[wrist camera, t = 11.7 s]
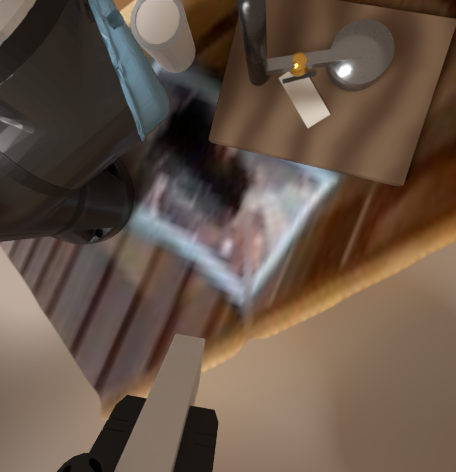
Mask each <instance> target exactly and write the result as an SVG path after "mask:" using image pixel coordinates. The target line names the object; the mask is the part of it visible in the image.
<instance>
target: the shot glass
mask: <svg viewBox="0 0 456 472" xmlns="http://www.w3.org/2000/svg"><path fill="white" fill-rule="evenodd" d="M130 25H131V29H132V33H133V36H134V37H135V39H136V40H137V42H138V43H139V44H140V45H141V46H142V47H143V48H144V49H145V50H146V51H147V52H148V53H149V54H150V55H151V56H152V57H153V58H154V59H155V60H156V61H157V62H158V63H159V64H160V65H161V66H162V67H163V68H164V69H165V70H167V71H169V72H170V73H180V72H183V71H185V70H186V69H188V68H189V67H190V66H191V64H192V62H193V61H194V59H195V52H196V49H195V45H194V41H193V38H192V34H191V31H190V28H189V24H188V21H187V18H186V14H185V11H184V7H183V4H182V3H181V1H180V0H138V1H137V2H136V5H135V7H134V9H133V11H132V14H131V24H130Z"/></svg>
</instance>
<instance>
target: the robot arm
mask: <svg viewBox="0 0 456 472" xmlns="http://www.w3.org/2000/svg"><path fill="white" fill-rule="evenodd" d="M169 107H170V103H169V98H168V96H167V94H166V92H165V90H164V88H163V86H162V84H161V83H160V81H159V79H158V77H157V76H156V74H155V72H154V70H153V69H152V67H151V65H150V63H149V62H148V60H147V58H146V56H145V55H144V53H143V51H142V50H141V48H140V46H139V44H138V43H137V41H136V39H135V38H134V36H133V34H132V32H131V31H130V29H129V27H128V26H127V24H126V23H125V21H124V19H123V17H122V15H121V14H120V12H119V10H118V9H117V7H116V5H115V4H114V1H113V0H0V242H2V241H11V240H20V239H30V238H39V237H47V236H50V237H53V238H56V239H59V240H63V241H66V242H69V243H73V244H92V243H98V242H102V241H105V240H107V239H109V238H111V237H113V236H114V235H115V234H117V233H118V232H119V231H120V230H121V229H122V228H123V226H124V225H125V223H126V222H127V220H128V218H129V216H130V213H131V210H132V206H133V186H132V181H131V178H130V175H129V173H128V171H127V169H126V167H125V166H124V164H123V163H122V162H121V161H120V160H119V157H120V156H121V155H123V154H124V153H125V152H126V151H128V150H129V149H130V148H131V147H133V146H134V145H135V144H136V143H138V142H139V141H141V142H143V141H144V140H145V139H146V136H147V135H148V134H149V133H150V132H151V131H152V130H153V129H155V128H156V127H157V126H158V125H159V124H160V123H161V122H162V121H164V119H165V118H166V117H167V115H168V113H169ZM204 345H205V339H203V338H197V337H191V336H185V335H180V334H175V337H174V339H173V341H172V343H171V345H170V348H169V350H168V352H167V354H166V357H165V359H164V361H163V363H162V366H161V368H160V370H159V372H158V375H157V377H156V379H155V381H154V384H153V386H152V388H151V390H150V393H149V395H148V397H147V398H141V397H136V396H130V395H127V396H125V397H124V398H123V399H122V400H121V401H120V402H119V403H117V404H116V406H115V408H114V409H113V411H112V413H111V415H110V416H109V419H108V420H107V422H106V424H105V425H104V427H103V430H102V431H101V432H100V434H99V436H98V438H97V440H96V441H95V443H94V445H93V447H92V449H91V450H90V452H89V453H83V454H80V455H77V456H74V457H73V458H71V459H70V460H68V461H67V462H65V463H64V464H63V465H62V467H61V468H60V469H59V470H58V471H57V472H212V470H213V462H214V454H215V445H216V437H217V430H218V420H217V416H216V413H215V410H212V409H206V408H201V407H195V406H194V403H195V399H196V394H197V391H198V386H199V380H200V373H201V366H202V359H203V352H204Z"/></svg>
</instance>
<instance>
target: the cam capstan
mask: <svg viewBox="0 0 456 472" xmlns="http://www.w3.org/2000/svg"><path fill="white" fill-rule="evenodd" d="M237 6H238V12H239V18H240V24H241V31H242V37H243V43H244V49H245V55H246V61H247V67H248V73H249V79H250V82H251V83H252V84H253V85H256V86H260V85H262V84H264V83H265V82H266V80H267V77H268V75H270V74H277V73H284V72H290V73H291V74H292V75H293V76H296V77H299V76H302V75H304V74H305V73H306V72H307V71H308V69H312V68H319V67H326V69H327V74H328V76H329V78H330V80H331V81H332V83H333V84H334V85H335V86H337V87H338V88H340V89H342V90H345V91H350V92H355V91H361V90H364V89H366V88H368V87H370V86H372V85H373V84H374V83H375V82H376V81H377V80H378V79H379V78H380V76H381V75H382V74H383V73H384V71H385V70H386V69H387V68H388V66H389V64H390V63H391V61H392V58H393V55H394V40H393V37H392V34H391V33H390V31H389V30H388V28H387V27H386V26H384V25H383V24H382V23H380V22H378V21H375V20H371V19H361V20H356V21H354V22H351V23H349V24H348V25H346V26H345V27H344V28H342V29H341V30H340V31H339V32H338V34H337V35H336V37H335V38H334V40H333V43H332V45H331V48H330V49H329V50H322V51H315V52H309V53H304V52H297V53H295V54H293V55H289V56H282V57H276V58H269V59H267V32H266V0H237Z"/></svg>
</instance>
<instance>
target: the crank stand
mask: <svg viewBox="0 0 456 472" xmlns="http://www.w3.org/2000/svg"><path fill="white" fill-rule="evenodd" d="M361 19H371V20H375V21H378V22H380V23H382V24H383V25H384V26H386V27H387V28H388V30H389V31H390V33H391V34H392V37H393V40H394V55H393V58H392V61H391V63H390V64H389V66H388V68H387V69H386V70H385V71H384V73H383V74H382V75H381V76H380V78H379V79H378V80H377V81H376V82H375V83H374V84H373V85H372V86H370V87H368V88H366V89H364V90H361V91H355V92H350V91H345V90H342V89H340V88H338V87H337V86H335V85H334V84H333V83H332V81H331V80H330V78H329V76H328V74H327V69H326V67H319V68H312V69H308V71H307V72H306V73H305V74H304V75H302V76H299V77H296V76H293V75H292V74H291V73H290V72H284V73H277V74H270V75H268V77H267V80H266V82H265V83H264V84H262V85H260V86H256V85H253V84H252V83H251V82H250V79H249V73H248V67H247V61H246V55H245V49H244V43H243V37H242V31H241V24H240V18H239V17H238V21H237V25H236V29H235V33H234V37H233V41H232V46H231V50H230V54H229V58H228V62H227V66H226V70H225V74H224V78H223V82H222V87H221V91H220V95H219V99H218V103H217V107H216V111H215V115H214V119H213V124H212V128H211V132H210V136H209V141H210V142H212V143H216V144H220V145H224V146H229V147H233V148H237V149H241V150H246V151H250V152H254V153H258V154H263V155H267V156H271V157H275V158H279V159H284V160H288V161H292V162H296V163H301V164H305V165H309V166H313V167H318V168H322V169H326V170H330V171H335V172H339V173H343V174H347V175H352V176H356V177H360V178H364V179H369V180H373V181H377V182H381V183H386V184H390V185H394V186H402V185H404V182H405V179H406V176H407V173H408V170H409V167H410V163H411V160H412V157H413V154H414V151H415V148H416V145H417V142H418V139H419V136H420V133H421V130H422V127H423V124H424V121H425V118H426V115H427V112H428V109H429V106H430V103H431V100H432V97H433V94H434V91H435V88H436V85H437V82H438V78H439V75H440V72H441V69H442V66H443V63H444V60H445V57H446V54H447V51H448V48H449V45H450V42H451V39H452V36H453V33H454V30H455V27H456V19H453V18H447V17H440V16H434V15H428V14H421V13H415V12H409V11H402V10H396V9H390V8H384V7H377V6H371V5H365V4H358V3H352V2H346V1H340V0H266V32H267V59H269V58H276V57H282V56H289V55H293V54H295V53H297V52H304V53H309V52H315V51H322V50H329V49H330V48H331V45H332V43H333V40H334V38H335V37H336V35H337V34H338V32H339V31H340V30H341V29H342V28H344V27H345V26H346V25H348V24H349V23H351V22H354V21H356V20H361Z"/></svg>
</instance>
